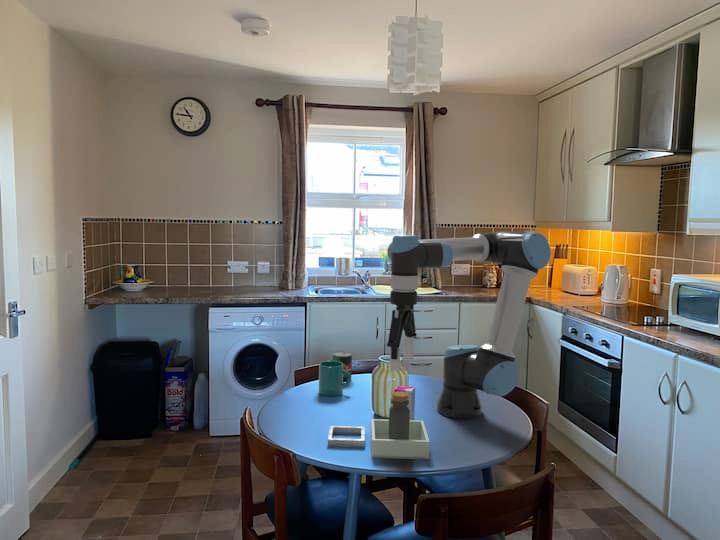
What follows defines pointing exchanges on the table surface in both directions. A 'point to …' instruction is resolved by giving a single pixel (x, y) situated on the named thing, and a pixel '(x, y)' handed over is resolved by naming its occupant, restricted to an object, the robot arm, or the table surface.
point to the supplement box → (409, 398)
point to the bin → (399, 441)
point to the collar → (346, 442)
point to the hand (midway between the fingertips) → (401, 364)
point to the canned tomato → (344, 362)
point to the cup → (332, 378)
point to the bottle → (399, 416)
